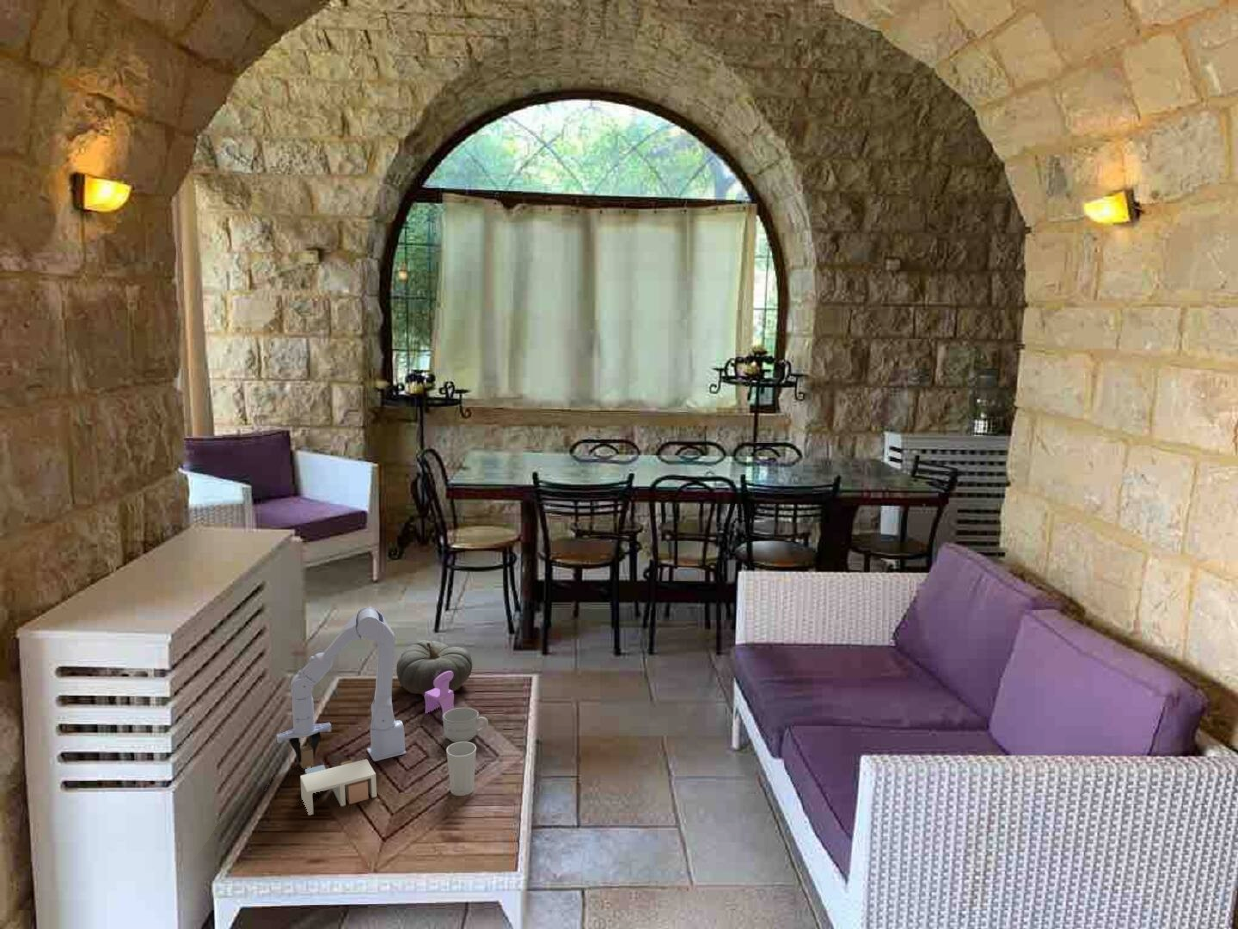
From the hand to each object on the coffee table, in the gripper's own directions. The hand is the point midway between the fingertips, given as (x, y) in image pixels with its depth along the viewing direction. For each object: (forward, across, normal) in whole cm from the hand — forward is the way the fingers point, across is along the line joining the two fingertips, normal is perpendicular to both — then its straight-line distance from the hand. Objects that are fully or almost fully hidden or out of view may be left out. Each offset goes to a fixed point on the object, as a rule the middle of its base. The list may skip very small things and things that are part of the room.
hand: (305, 759), depth 247 cm
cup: (+2, -34, +35) cm, 49 cm away
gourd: (+2, -49, -30) cm, 58 cm away
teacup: (+2, -45, +9) cm, 46 cm away
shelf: (+1, -4, +22) cm, 23 cm away
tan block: (+1, -8, +20) cm, 22 cm away
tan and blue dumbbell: (+1, 0, +9) cm, 9 cm away
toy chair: (+2, -44, -11) cm, 46 cm away
